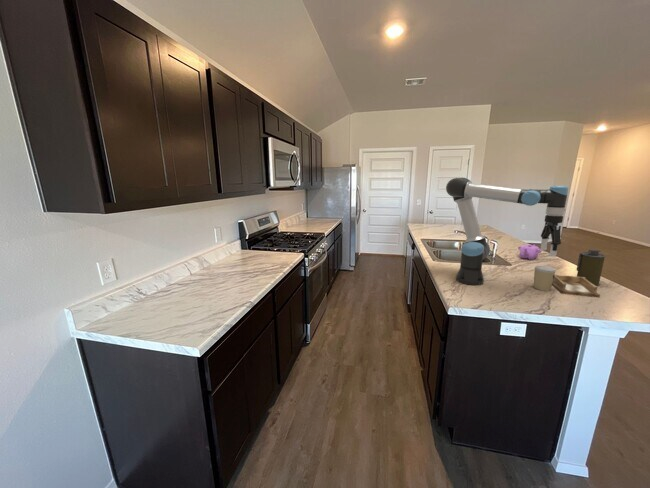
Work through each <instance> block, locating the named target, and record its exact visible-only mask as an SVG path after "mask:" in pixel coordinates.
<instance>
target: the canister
mask: <svg viewBox="0 0 650 488" xmlns="http://www.w3.org/2000/svg"><path fill="white" fill-rule="evenodd" d="M600 252H601V251H600V250H599V249H593V248H591V249H589V250H588V251H587V252H586V251H583V252H579V256H578V261H577V264H576V265H577V266H576V271H577V274H576V276H577V277H585V278H586V279H587V280H588V281H589V282H591V283H592V284H594V285H595V286H597V285H598V286H600V281H601V276H602V271H603V267H604V263H605V262H604V261H605V258H606V255H605V254H602V253H600ZM598 286H597V287H598Z"/></svg>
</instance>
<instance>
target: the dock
mask: <svg viewBox="0 0 650 488" xmlns="http://www.w3.org/2000/svg"><path fill="white" fill-rule="evenodd" d="M552 286H553V287H554V288H555V289H556V290H557V291H558V292H559V293H560V294H562V295H573V296H579V297H581V296H583V297H591V298H600V297H601V295H600V293H599V292H597V291H598V286H595V285H594V284H592V283H591V282H589V281H588V280H587V279H586V278H585V277H577V275H576V276H575V275H574V276H573V275H564V274H563V275H562V274H555V275H554V279H553V282H552Z"/></svg>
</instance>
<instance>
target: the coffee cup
mask: <svg viewBox="0 0 650 488" xmlns="http://www.w3.org/2000/svg"><path fill="white" fill-rule="evenodd" d="M556 271H557V270H556V269H555V268H554V267H552V266H547V265H535V267H534V274H533V288H534V289H536V290H540V291H544V292H545V291H547V292H549V291H551V289H552V286H553V285H552V282H553V279H554V275H556Z"/></svg>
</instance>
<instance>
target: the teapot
mask: <svg viewBox="0 0 650 488" xmlns="http://www.w3.org/2000/svg"><path fill="white" fill-rule="evenodd" d="M517 248H518V251H519V256H518V257H519V258H521V259H523V260H524V259H528V260H530V261H533V260H536V258H538V255H539V254H541V252H542V251H543V250H540V247H539V246H536V243H535V244H533V245H532V244H525V245H521V246H520V245H519V246H518V247H517Z"/></svg>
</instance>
